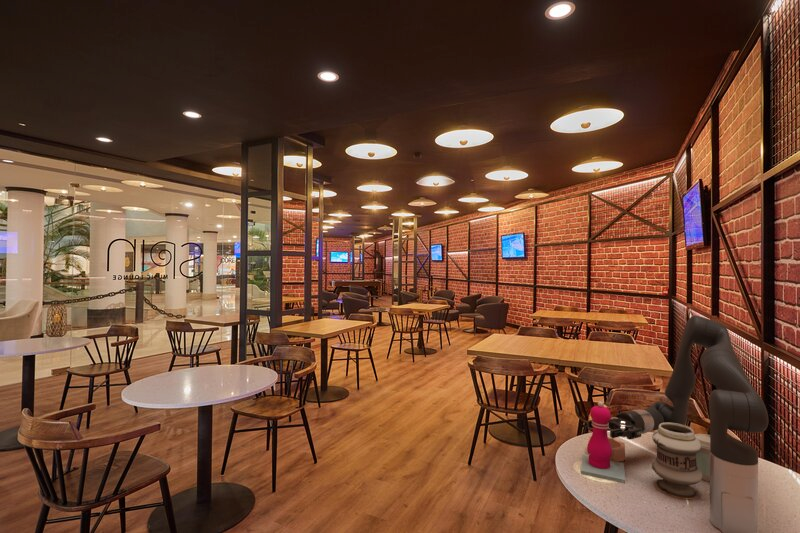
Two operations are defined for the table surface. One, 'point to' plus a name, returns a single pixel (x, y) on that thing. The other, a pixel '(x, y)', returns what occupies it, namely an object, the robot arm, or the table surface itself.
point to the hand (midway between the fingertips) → (599, 429)
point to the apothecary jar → (676, 460)
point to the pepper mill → (599, 437)
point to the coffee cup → (704, 456)
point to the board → (604, 470)
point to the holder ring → (616, 449)
